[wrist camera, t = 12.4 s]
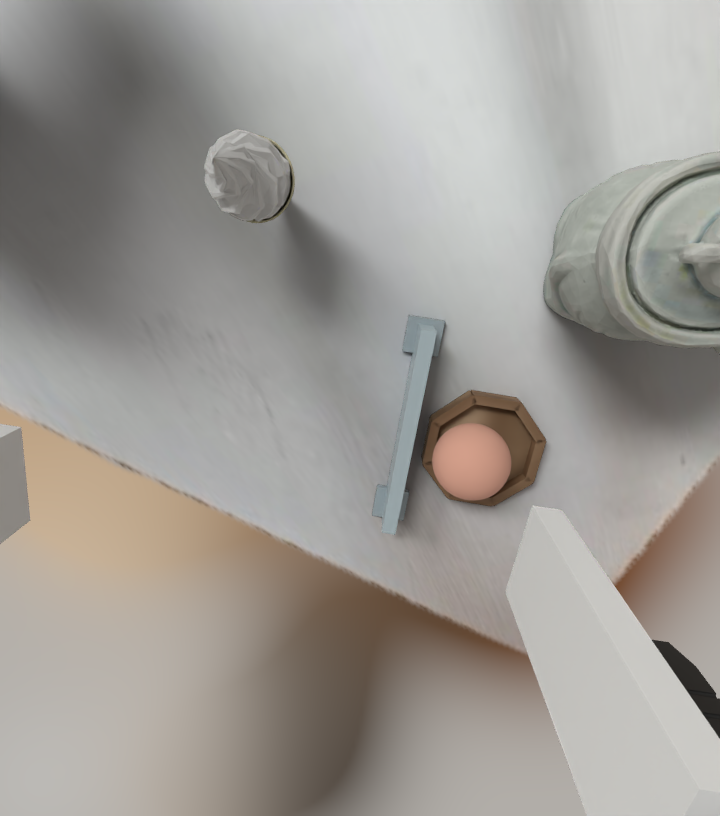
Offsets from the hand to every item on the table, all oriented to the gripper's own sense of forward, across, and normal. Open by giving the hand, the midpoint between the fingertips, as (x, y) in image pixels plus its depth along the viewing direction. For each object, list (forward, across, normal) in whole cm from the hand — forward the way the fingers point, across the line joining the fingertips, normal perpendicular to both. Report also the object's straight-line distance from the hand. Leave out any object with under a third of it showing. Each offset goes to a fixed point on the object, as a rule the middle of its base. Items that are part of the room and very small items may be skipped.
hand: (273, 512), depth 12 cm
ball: (+28, +13, -9) cm, 32 cm away
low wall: (+29, +6, -8) cm, 31 cm away
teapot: (+29, +22, +9) cm, 38 cm away
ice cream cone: (+30, -6, +9) cm, 32 cm away
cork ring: (+29, +13, -9) cm, 33 cm away
